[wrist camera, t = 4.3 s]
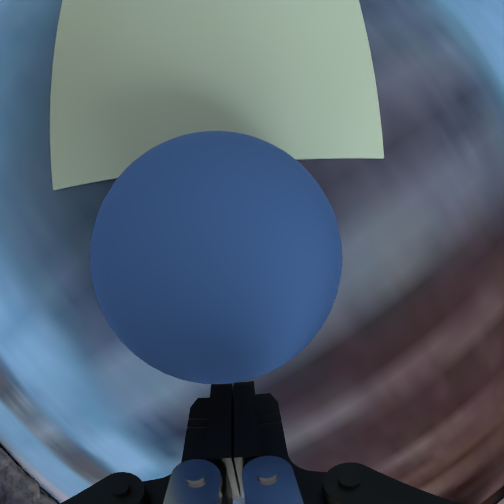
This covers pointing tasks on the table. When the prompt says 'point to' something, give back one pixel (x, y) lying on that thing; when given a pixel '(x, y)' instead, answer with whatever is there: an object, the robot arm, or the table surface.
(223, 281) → the ball
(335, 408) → the table surface
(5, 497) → the geode
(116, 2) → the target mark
